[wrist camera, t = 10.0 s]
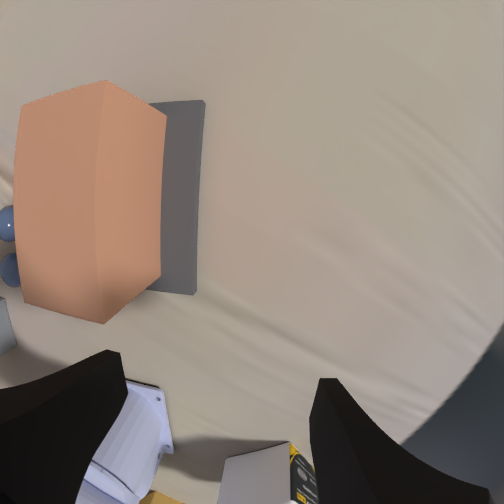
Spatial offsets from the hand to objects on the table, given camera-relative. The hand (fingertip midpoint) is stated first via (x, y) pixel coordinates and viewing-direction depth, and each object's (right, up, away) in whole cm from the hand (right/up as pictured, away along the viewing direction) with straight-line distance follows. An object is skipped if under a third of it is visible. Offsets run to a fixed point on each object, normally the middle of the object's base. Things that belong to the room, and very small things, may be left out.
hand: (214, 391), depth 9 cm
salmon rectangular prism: (-7, +8, +7) cm, 13 cm away
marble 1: (-19, +8, +9) cm, 22 cm away
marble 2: (-19, +4, +10) cm, 22 cm away
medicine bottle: (+3, -17, +13) cm, 22 cm away
